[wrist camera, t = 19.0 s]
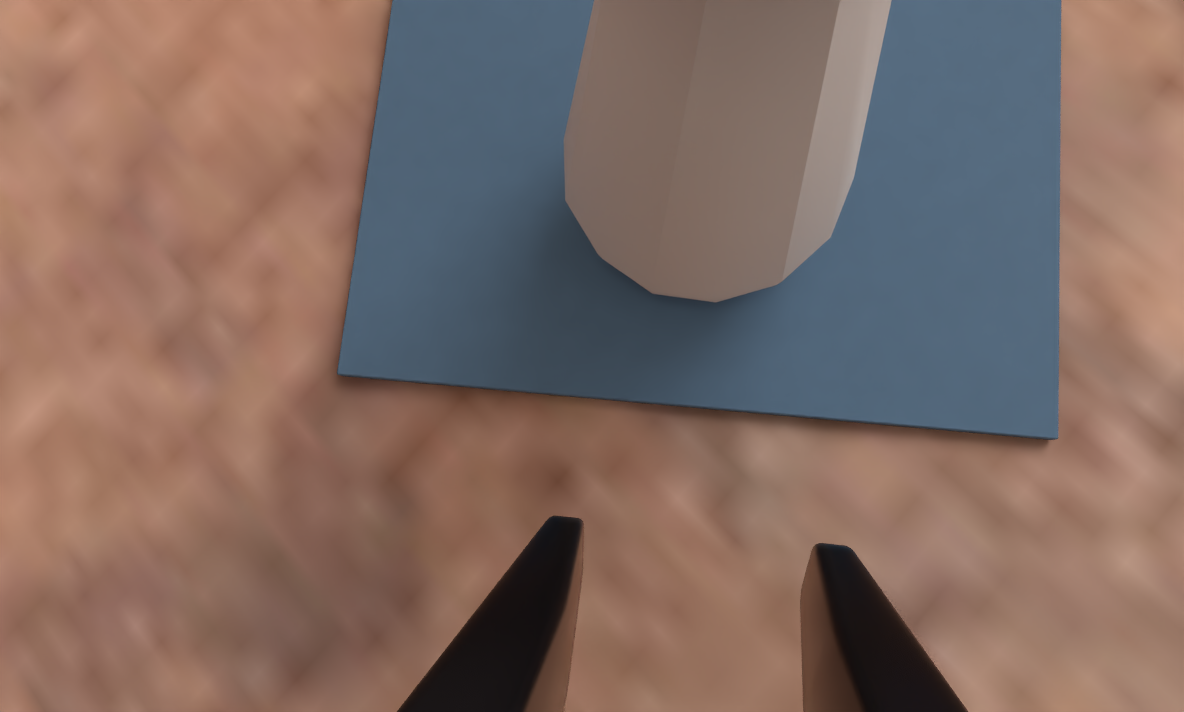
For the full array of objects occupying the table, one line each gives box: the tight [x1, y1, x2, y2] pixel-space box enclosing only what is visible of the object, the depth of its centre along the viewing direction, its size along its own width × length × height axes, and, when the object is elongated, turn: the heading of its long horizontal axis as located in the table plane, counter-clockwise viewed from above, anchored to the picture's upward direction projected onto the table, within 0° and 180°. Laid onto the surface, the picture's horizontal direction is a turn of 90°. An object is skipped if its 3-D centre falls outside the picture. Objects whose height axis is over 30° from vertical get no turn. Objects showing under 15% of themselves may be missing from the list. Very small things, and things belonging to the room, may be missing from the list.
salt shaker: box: [564, 0, 892, 302], centre depth 12 cm, size 6×6×13 cm
